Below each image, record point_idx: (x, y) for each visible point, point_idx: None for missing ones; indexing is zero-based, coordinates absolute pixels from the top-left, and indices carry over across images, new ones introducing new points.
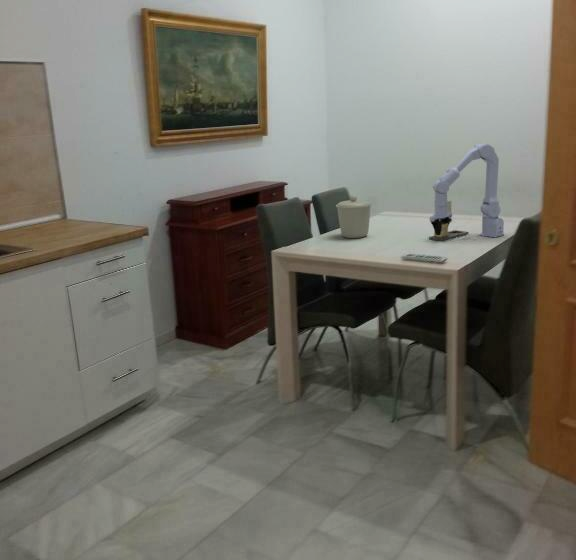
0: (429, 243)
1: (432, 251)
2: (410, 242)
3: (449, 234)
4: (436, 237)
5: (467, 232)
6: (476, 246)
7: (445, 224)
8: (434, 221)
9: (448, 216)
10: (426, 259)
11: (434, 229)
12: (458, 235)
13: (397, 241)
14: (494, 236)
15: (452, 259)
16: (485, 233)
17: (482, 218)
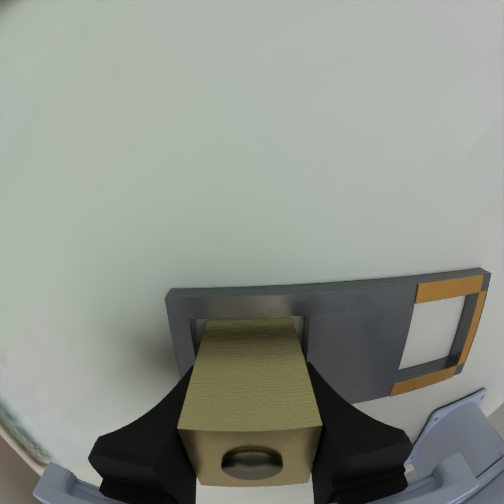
0: (96, 366)
1: (49, 428)
2: (29, 246)
3: (359, 360)
4: (195, 360)
5: (453, 374)
6: (223, 499)
7: (266, 481)
8: (115, 485)
9: (406, 496)
10: (16, 434)
11: (168, 398)
12: (374, 395)
13: (9, 152)
14: (404, 463)
15: None
16: (426, 443)
17: (474, 472)
